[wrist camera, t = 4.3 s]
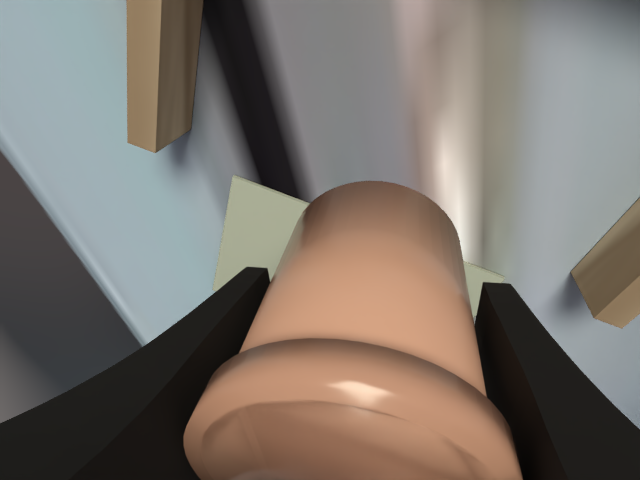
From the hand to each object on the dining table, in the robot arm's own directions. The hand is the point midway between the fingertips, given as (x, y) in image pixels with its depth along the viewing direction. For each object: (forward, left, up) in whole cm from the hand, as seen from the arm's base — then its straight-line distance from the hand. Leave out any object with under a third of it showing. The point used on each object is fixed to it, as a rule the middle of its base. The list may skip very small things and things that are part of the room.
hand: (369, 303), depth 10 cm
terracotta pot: (0, 0, -2) cm, 2 cm away
